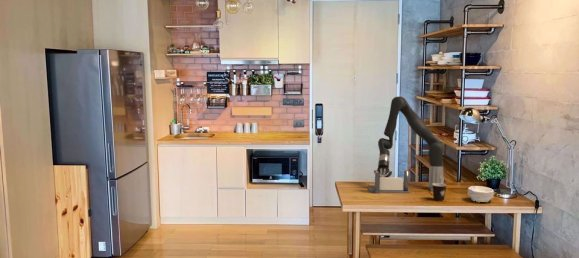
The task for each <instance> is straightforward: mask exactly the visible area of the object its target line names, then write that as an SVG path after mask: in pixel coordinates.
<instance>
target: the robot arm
mask: <svg viewBox="0 0 579 258" xmlns="http://www.w3.org/2000/svg"><path fill="white" fill-rule="evenodd" d="M400 113H401V114H402V115H403V116H404V117H405V120H406V121H407V124H408V125H409V127H410V129H412V131H413V132H414V133H415V134H416V135H417V136H418V137H420V138H421V139H422V140H424V141H425V142H426V144H427V145H428V146H429V149H428V162H429V163H428V164H429V166H428V167H429V168H428V170H429V171H428V173H429V174H428V189H429V188H431V187H433V185H432V184H434V183H442V184H445V183H444V178H445V177H444V160H443V158H444V157H443V154H444V153H445V151H446V147H445V145H444V143H442V142H441V140H439V138H437V137H436V136H435V135H434V134H433V132H432V131H431V129H430V128H429V127H428V126H427V124H426V123H425V121H424V120H423V119H422V118H421V117H420V116H419V115H418V114H417V112H415V111H414V110H413V108H412V107H411V106H410V104H409V102H408V101H407V100H406V98H405V97H403V96H394V97H393V98H392V99H391V102H390V110H389V114H388V119H387V120H386V121H387V122H386V125H385V129H384V132H383V135H384V136H385V137H388V139H387V138H382V137H380V138H379V139H378V141H377V143H378V144H377V145H378V151H379V157H378V164H377V168H376V170H373V173H374V174H375V172H380V177H389V178H390V177H391V176H392V174H393V172H392V170H390V155H391V154H390V150H391V149H393V146H394V135H395V131H396V128H397V122H398V116H399V114H400ZM430 191H432V192H433V188H431V189H430Z"/></svg>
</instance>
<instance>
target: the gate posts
mask: <svg viewBox="0 0 579 258" xmlns="http://www.w3.org/2000/svg"><path fill="white" fill-rule="evenodd" d="M403 171H404V172H403V173H404V174H403V186H404V191H408V189H409V179H410V174H409V173H410V170H408V169H407V170H406V169H405V170H403ZM374 185H375V193H374V194H381V193H380V172H375V173H374Z"/></svg>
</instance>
